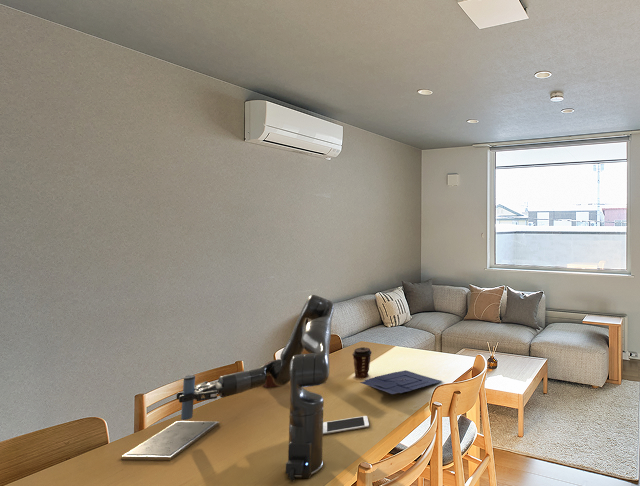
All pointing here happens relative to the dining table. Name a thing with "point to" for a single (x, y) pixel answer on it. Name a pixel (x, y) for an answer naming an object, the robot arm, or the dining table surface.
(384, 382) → the navy compartment tray
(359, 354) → the coffee cup
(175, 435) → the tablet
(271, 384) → the muffin
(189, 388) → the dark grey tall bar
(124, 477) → the dining table surface
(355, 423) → the cell phone
